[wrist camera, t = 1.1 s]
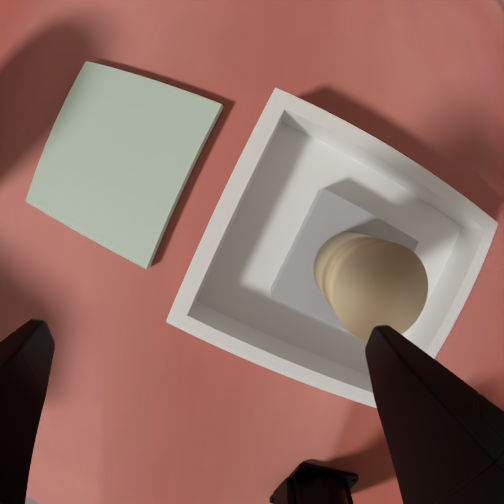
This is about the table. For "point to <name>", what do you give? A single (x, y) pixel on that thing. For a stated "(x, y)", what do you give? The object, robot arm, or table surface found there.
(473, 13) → the table surface
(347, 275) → the birch cylinder
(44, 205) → the green pad
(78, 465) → the table surface
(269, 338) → the tray
